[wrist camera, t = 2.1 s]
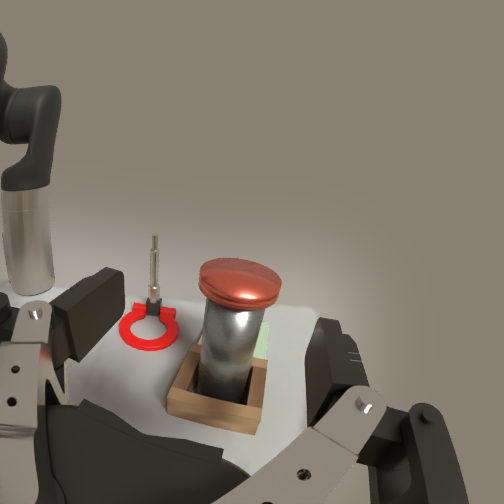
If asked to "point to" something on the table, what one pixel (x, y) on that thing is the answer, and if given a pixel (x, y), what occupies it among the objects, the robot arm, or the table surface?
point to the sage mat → (259, 341)
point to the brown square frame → (213, 409)
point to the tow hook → (151, 312)
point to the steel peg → (232, 323)
